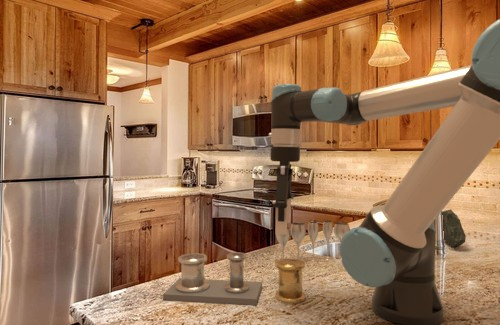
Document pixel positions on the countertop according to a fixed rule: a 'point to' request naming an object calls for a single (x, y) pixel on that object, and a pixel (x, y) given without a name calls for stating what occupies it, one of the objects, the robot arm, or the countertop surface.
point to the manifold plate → (217, 294)
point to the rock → (452, 229)
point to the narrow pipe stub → (236, 274)
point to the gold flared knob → (290, 280)
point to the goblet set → (313, 235)
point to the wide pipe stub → (192, 273)
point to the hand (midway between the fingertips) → (283, 228)
